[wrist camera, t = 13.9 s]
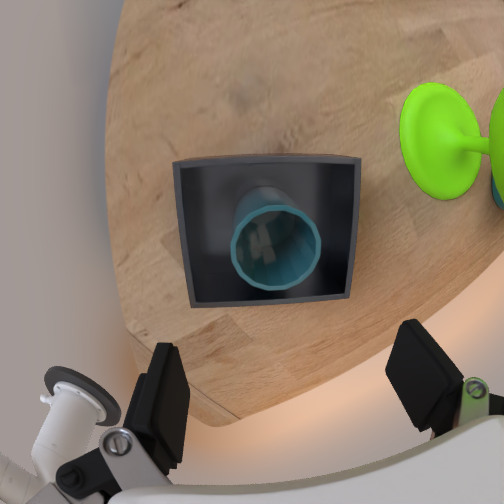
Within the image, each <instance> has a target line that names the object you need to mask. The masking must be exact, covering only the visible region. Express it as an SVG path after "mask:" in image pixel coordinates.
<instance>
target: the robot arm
mask: <svg viewBox="0 0 504 504" xmlns="http://www.w3.org/2000/svg"><path fill="white" fill-rule="evenodd" d="M385 371H386V375H387V377H388V379H389V380H390V382H391V384H392V386H393V388H394V390H395V391H396V393H397V395H398V397H399V399H400V400H401V402H402V404H403V406H404V408H405V410H406V412H407V414H408V415H409V417H410V419H411V421H412V423H413V425H414V426H415V427H416V428H418V429H419V431H420V432H422V431H424V430H427V429H429V428H430V427H431V428H432V434H431V438H430V441H428V442H426V443H424V444H421V445H419V446H417V447H414V448H412V449H409V450H407V451H404V452H402V453H399V454H397V455H394V456H391V457H388V458H385V459H383V460H379V461H376V462H373V463H370V464H367V465H363V466H360V467H356V468H352V469H349V470H345V471H341V472H336V473H332V474H327V475H322V476H317V477H312V478H306V479H300V480H293V481H285V482H277V483H266V484H251V485H179V484H178V485H174V484H173V483H172V482H171V481H170V480H169V478H168V477H167V475H168V474H169V469H177V463H181V462H182V456H183V446H184V439H185V431H186V422H187V415H188V408H189V401H190V389H189V385H188V382H187V379H186V375H185V372H184V369H183V365H182V361H181V358H180V354H179V350H178V347H177V346H173V344H172V343H157V345H156V348H155V351H154V354H153V357H152V360H151V363H150V366H149V369H148V372H147V373H141V374H140V376H139V378H138V381H137V383H136V386H135V390H134V392H133V395H132V398H131V401H130V405H129V408H128V411H127V414H126V417H125V420H124V424H123V427H114V428H110V429H108V430H107V431H105V432H104V433H103V434H102V435H101V437H100V439H99V447H98V448H96V449H94V450H92V451H91V452H88V453H86V454H85V451H86V449H87V446H88V443H89V440H90V437H91V435H92V432H93V429H94V426H95V424H96V422H102V421H104V420H105V419H106V416H107V412H106V410H105V408H104V406H103V405H102V404H101V403H100V402H99V401H98V400H97V399H96V398H95V397H94V396H93V395H91V394H90V393H89V392H87V391H86V390H84V389H82V388H80V387H79V386H77V385H74V384H72V383H69V382H64V381H61V382H57V383H56V384H55V386H54V389H53V390H54V394H55V395H54V396H51V397H49V396H47V395H44V394H42V395H41V396H40V399H41V401H42V402H44V403H47V404H50V408H51V410H50V412H49V414H48V416H47V418H46V420H45V422H44V424H43V426H42V428H41V430H40V432H39V434H38V437H37V439H36V441H35V443H34V445H33V448H32V452H31V457H32V462H33V465H34V467H35V470H36V472H37V475H38V476H37V477H36V476H34V475H33V474H30V473H29V472H27V471H26V470H25V469H23V468H21V467H20V466H19V465H17V464H16V463H15V462H13V461H12V460H10V459H9V458H8V457H6V456H5V455H4V454H2V453H1V452H0V499H1V500H2V501H3V502H5V503H6V504H504V397H502V396H498V395H494V394H490V393H489V388H488V386H487V384H486V383H485V382H484V381H483V380H481V379H480V378H476V377H472V378H468V379H467V380H466V381H465V382H464V381H463V378H464V376H463V375H462V373H461V372H460V371H459V370H458V368H457V367H456V366H455V364H454V363H453V362H452V361H451V359H450V358H449V357H448V356H447V354H446V353H445V352H444V351H443V349H442V348H441V347H440V346H439V345H438V343H437V342H436V341H435V340H434V339H433V337H432V336H431V335H430V334H429V333H428V332H427V330H426V329H425V328H424V327H423V326H422V325H421V324H420V322H419V321H418V320H417V319H410V320H405V321H403V323H402V325H400V327H399V330H398V333H397V336H396V339H395V342H394V345H393V348H392V351H391V354H390V357H389V360H388V362H387V366H386V368H385Z"/></svg>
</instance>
